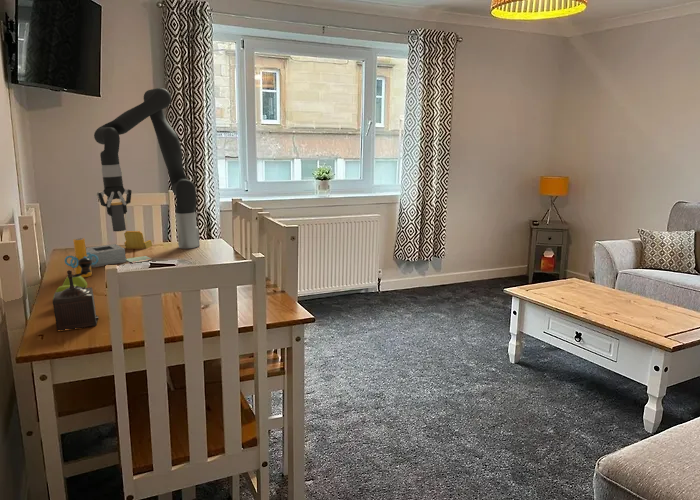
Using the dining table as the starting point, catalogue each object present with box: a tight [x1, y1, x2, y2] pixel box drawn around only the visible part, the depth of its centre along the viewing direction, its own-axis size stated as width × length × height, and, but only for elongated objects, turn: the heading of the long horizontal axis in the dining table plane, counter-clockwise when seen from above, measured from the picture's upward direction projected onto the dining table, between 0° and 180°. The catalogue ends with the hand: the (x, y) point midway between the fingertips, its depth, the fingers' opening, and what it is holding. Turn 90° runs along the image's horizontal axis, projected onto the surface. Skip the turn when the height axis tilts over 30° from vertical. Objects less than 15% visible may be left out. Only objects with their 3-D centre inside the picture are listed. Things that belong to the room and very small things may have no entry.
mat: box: [126, 255, 152, 263], centre depth 232 cm, size 9×9×1 cm
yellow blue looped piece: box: [64, 237, 98, 279], centre depth 206 cm, size 12×10×15 cm
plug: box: [110, 201, 127, 232], centre depth 227 cm, size 5×5×12 cm
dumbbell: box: [52, 276, 88, 299], centre depth 177 cm, size 16×8×7 cm, turn 16°
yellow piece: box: [123, 230, 153, 250], centre depth 257 cm, size 10×10×9 cm
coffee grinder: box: [52, 258, 100, 331], centre depth 156 cm, size 16×11×18 cm
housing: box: [86, 243, 127, 269], centre depth 229 cm, size 14×14×6 cm
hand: (117, 214), depth 227 cm, fingers closed on plug, 5 cm apart
